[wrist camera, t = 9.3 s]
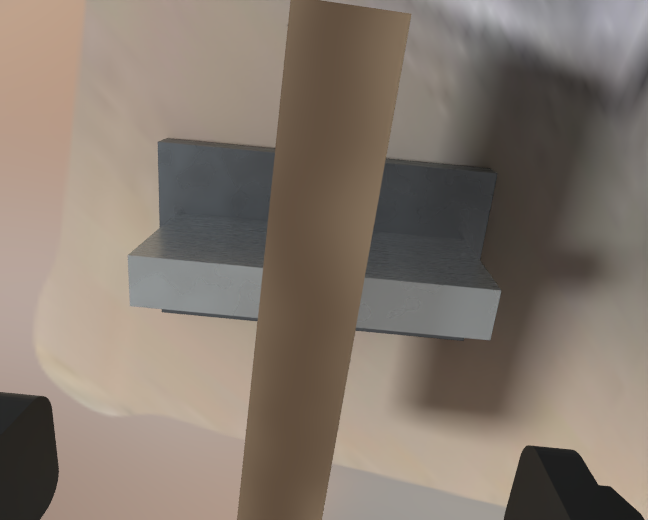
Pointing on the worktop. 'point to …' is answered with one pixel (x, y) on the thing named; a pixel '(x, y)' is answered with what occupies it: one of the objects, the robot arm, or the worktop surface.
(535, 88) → the worktop surface
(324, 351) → the walnut beam
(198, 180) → the stand
